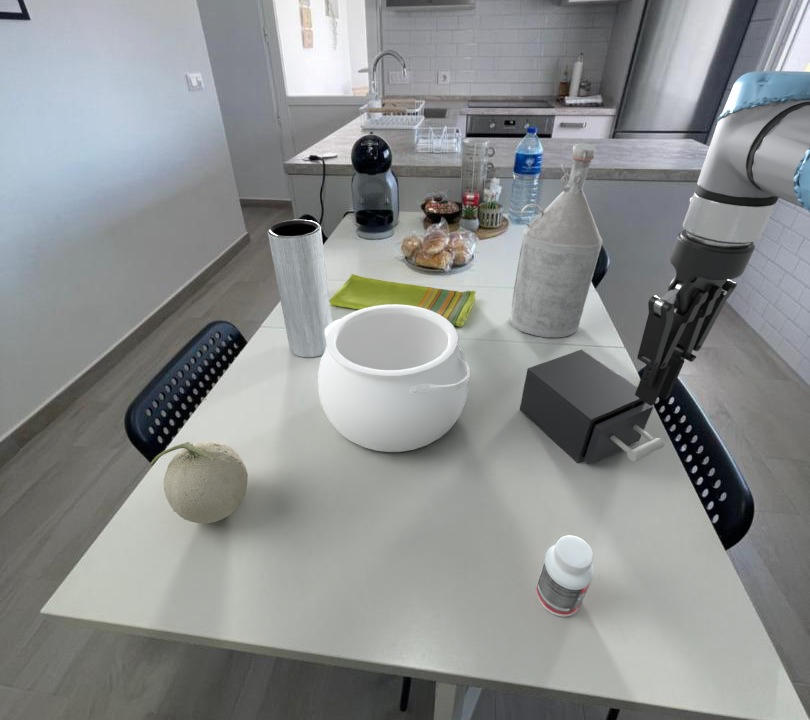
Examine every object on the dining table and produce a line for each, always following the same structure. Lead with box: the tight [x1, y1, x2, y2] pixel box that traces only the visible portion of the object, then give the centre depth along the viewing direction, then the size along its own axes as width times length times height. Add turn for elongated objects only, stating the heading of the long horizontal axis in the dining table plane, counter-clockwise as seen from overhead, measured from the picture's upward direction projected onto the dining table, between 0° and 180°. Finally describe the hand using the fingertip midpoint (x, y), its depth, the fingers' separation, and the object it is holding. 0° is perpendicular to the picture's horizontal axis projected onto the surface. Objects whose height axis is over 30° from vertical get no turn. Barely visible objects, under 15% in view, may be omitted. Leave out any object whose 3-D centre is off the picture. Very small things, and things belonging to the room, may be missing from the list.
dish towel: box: [329, 273, 477, 328], centre depth 116 cm, size 15×36×3 cm, turn 71°
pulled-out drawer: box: [583, 403, 665, 466], centre depth 74 cm, size 18×11×8 cm, turn 27°
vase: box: [267, 219, 333, 358], centre depth 93 cm, size 10×10×27 cm
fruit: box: [149, 441, 249, 524], centre depth 62 cm, size 10×12×15 cm
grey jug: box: [509, 143, 603, 339], centre depth 96 cm, size 13×17×40 cm
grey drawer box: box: [519, 349, 646, 464], centre depth 77 cm, size 15×13×10 cm
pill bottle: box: [535, 534, 595, 618], centre depth 52 cm, size 5×5×10 cm
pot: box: [317, 305, 471, 453], centre depth 78 cm, size 29×26×16 cm
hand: (651, 396), depth 64 cm, fingers open, 2 cm apart
